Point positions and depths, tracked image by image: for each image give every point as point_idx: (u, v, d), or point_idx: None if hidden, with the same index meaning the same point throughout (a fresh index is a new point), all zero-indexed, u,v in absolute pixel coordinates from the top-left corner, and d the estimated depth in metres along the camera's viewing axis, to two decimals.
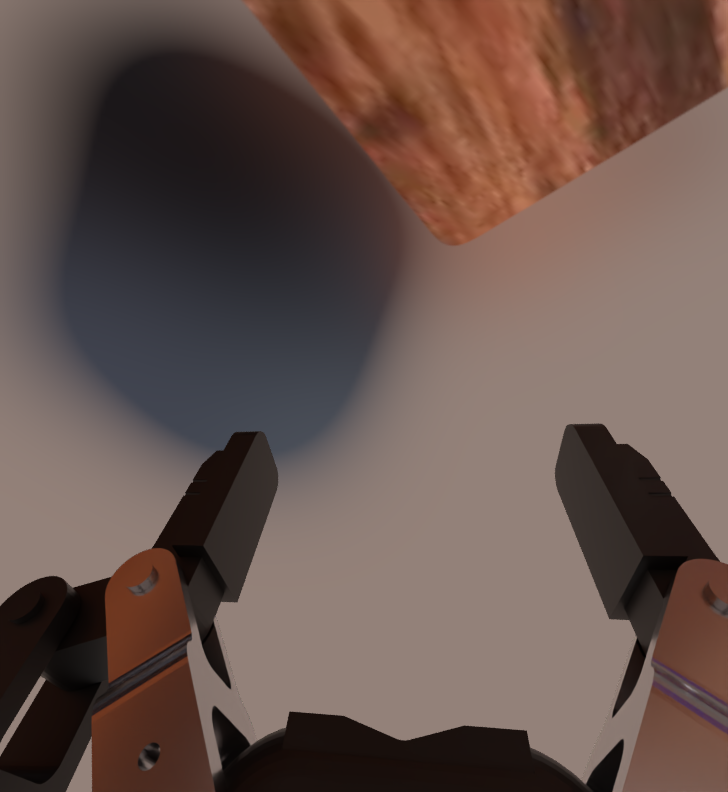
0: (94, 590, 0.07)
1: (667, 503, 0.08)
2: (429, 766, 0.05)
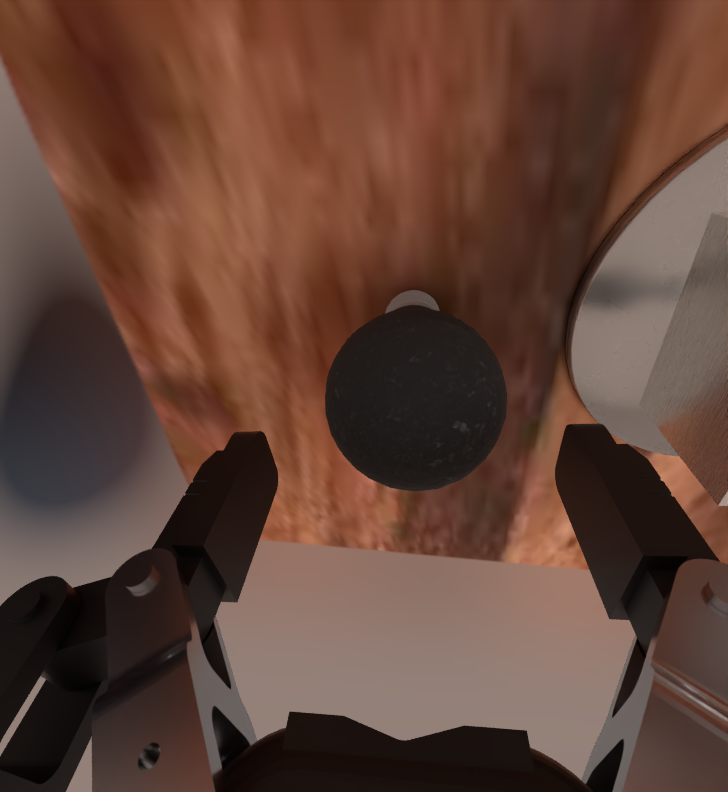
0: (94, 590, 0.07)
1: (667, 503, 0.08)
2: (429, 766, 0.05)
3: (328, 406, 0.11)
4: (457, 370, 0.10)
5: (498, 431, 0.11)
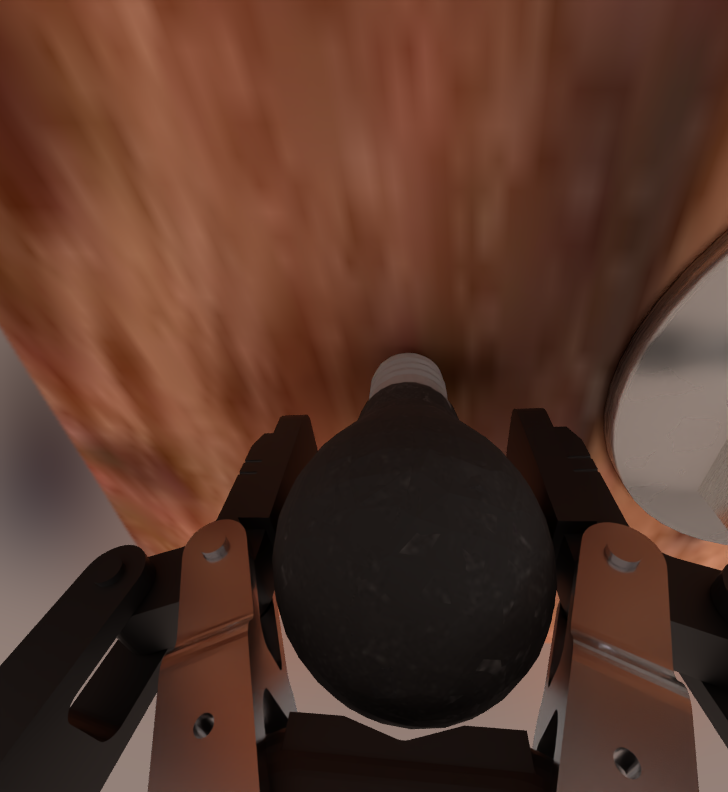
0: (165, 560, 0.08)
1: (592, 478, 0.08)
2: (429, 766, 0.05)
3: (274, 582, 0.07)
4: (485, 566, 0.06)
5: (546, 634, 0.07)
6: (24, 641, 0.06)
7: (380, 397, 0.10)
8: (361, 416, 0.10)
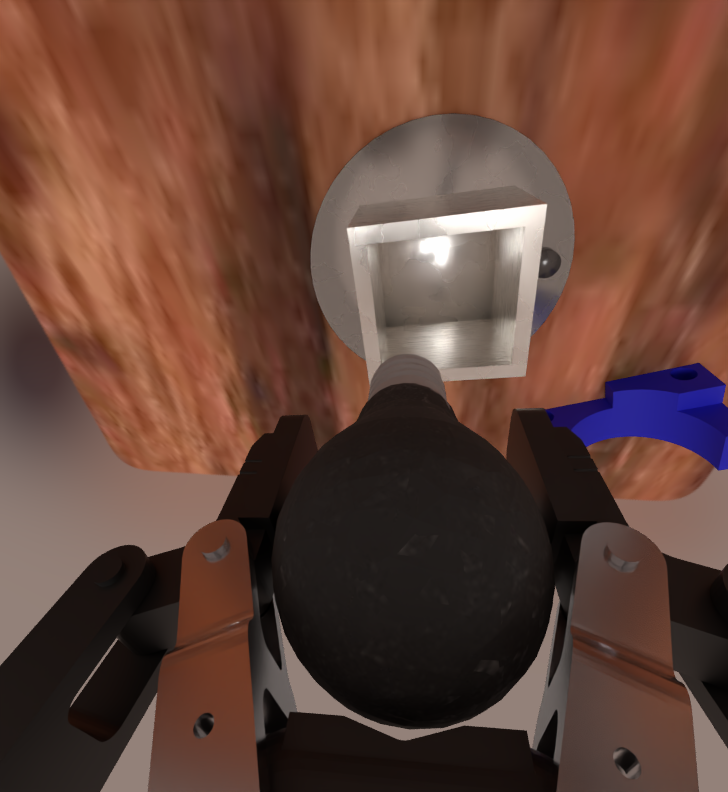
0: (166, 559, 0.08)
1: (592, 478, 0.08)
2: (429, 766, 0.05)
3: (273, 583, 0.07)
4: (483, 567, 0.06)
5: (544, 635, 0.07)
6: (24, 641, 0.06)
7: (379, 398, 0.10)
8: (360, 417, 0.11)
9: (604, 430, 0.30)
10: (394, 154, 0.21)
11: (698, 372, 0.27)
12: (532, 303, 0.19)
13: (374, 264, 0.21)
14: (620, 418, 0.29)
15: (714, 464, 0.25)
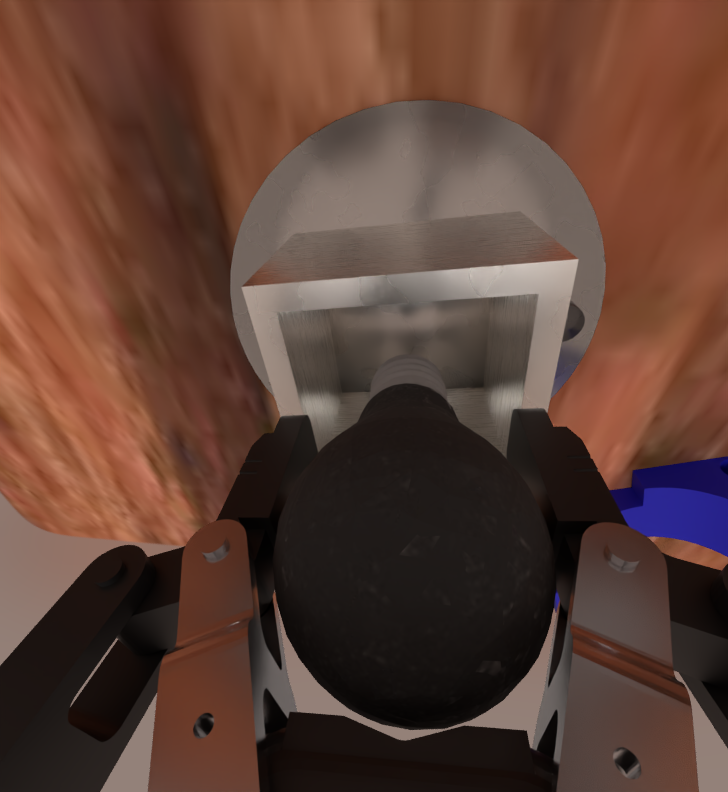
0: (166, 560, 0.08)
1: (592, 478, 0.08)
2: (429, 766, 0.05)
3: (274, 584, 0.07)
4: (484, 568, 0.06)
5: (546, 635, 0.07)
6: (24, 641, 0.06)
7: (380, 398, 0.10)
8: (361, 417, 0.11)
9: None
10: (339, 160, 0.14)
11: None
12: (545, 405, 0.12)
13: (308, 326, 0.14)
14: (652, 517, 0.22)
15: None
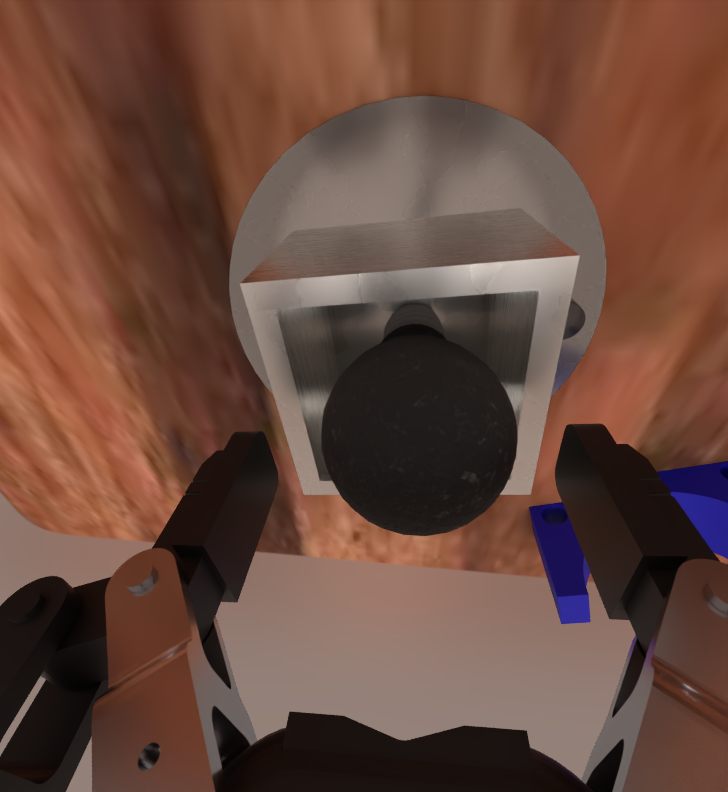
0: (94, 590, 0.07)
1: (667, 503, 0.08)
2: (429, 766, 0.05)
3: (324, 445, 0.10)
4: (467, 415, 0.09)
5: (509, 475, 0.10)
6: None
7: (393, 334, 0.14)
8: None
9: None
10: (339, 157, 0.14)
11: None
12: (546, 403, 0.12)
13: (307, 324, 0.14)
14: None
15: None
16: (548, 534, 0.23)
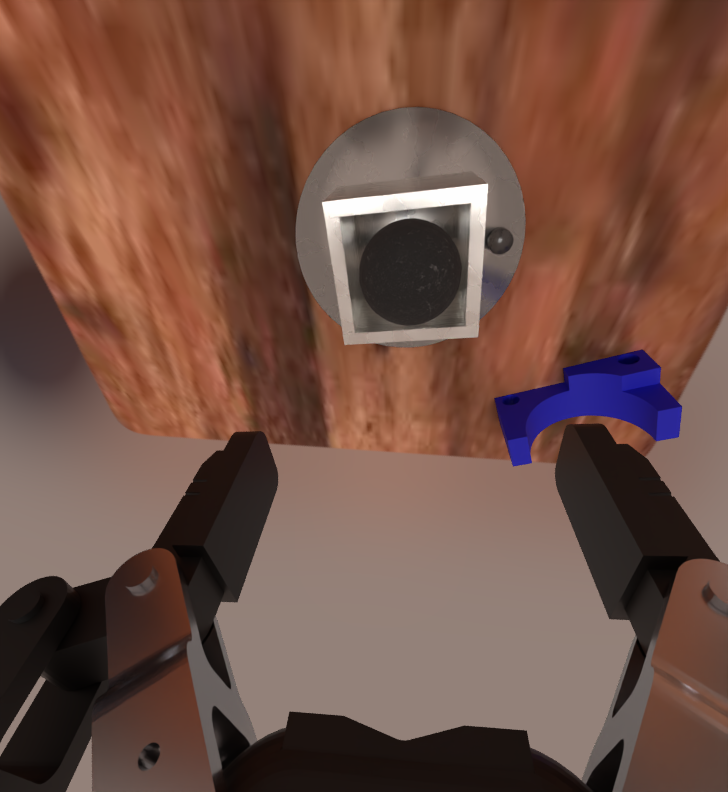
0: (94, 591, 0.07)
1: (667, 503, 0.08)
2: (429, 766, 0.05)
3: (362, 269, 0.20)
4: (432, 239, 0.19)
5: (455, 281, 0.20)
6: None
7: None
8: None
9: (564, 410, 0.34)
10: (367, 141, 0.24)
11: (640, 357, 0.31)
12: (480, 271, 0.22)
13: (349, 237, 0.24)
14: (577, 399, 0.33)
15: (653, 436, 0.30)
16: (505, 410, 0.34)
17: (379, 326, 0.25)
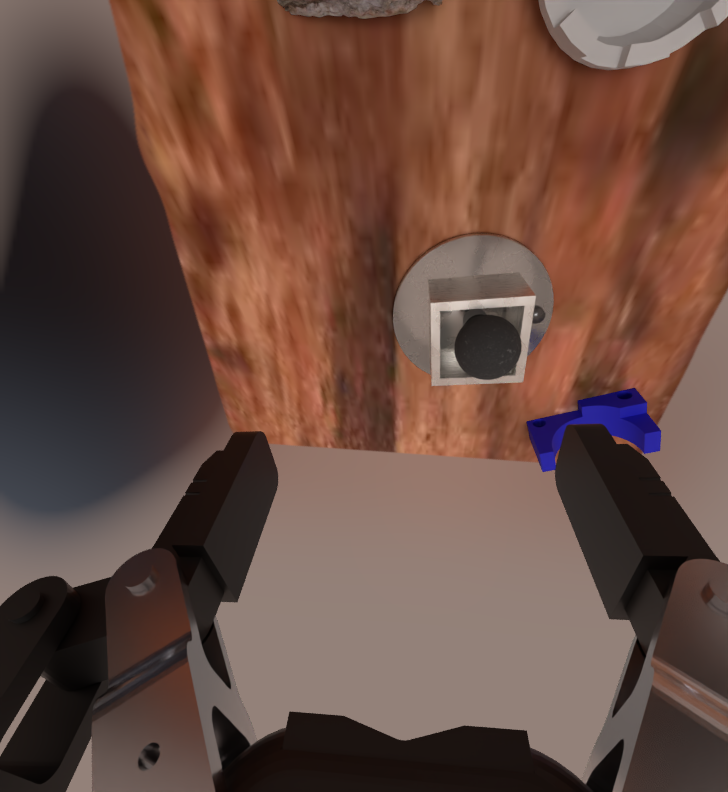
0: (94, 590, 0.07)
1: (667, 503, 0.08)
2: (429, 766, 0.05)
3: (461, 347, 0.33)
4: (508, 333, 0.31)
5: (519, 355, 0.32)
6: None
7: (473, 317, 0.36)
8: (467, 323, 0.36)
9: None
10: (450, 254, 0.36)
11: (633, 394, 0.43)
12: (527, 343, 0.34)
13: None
14: (588, 423, 0.46)
15: (642, 450, 0.42)
16: (536, 431, 0.46)
17: (455, 373, 0.38)
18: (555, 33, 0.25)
